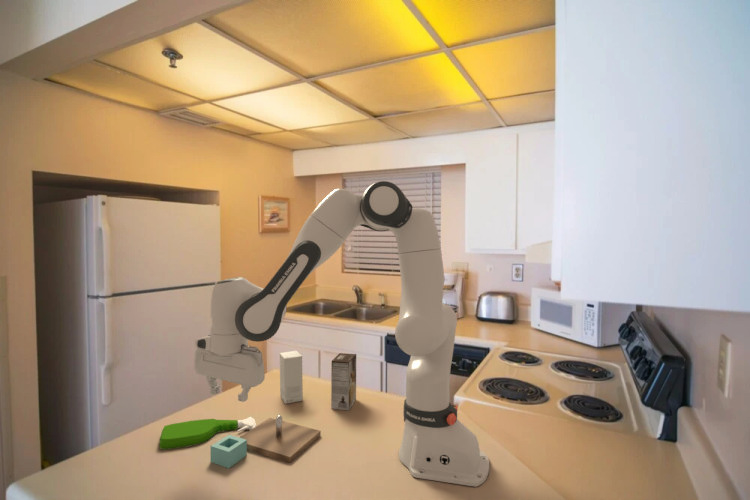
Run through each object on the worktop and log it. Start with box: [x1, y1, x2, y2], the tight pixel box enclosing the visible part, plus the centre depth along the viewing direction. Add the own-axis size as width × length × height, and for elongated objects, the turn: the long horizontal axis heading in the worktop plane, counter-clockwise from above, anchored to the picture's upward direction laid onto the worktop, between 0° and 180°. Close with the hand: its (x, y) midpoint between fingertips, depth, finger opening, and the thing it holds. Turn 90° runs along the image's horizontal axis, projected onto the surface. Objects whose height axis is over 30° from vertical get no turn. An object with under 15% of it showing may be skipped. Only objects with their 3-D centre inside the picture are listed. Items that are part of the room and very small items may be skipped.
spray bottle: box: [159, 416, 257, 450], centre depth 105 cm, size 3×11×24 cm
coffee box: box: [330, 352, 357, 411], centre depth 124 cm, size 9×6×16 cm
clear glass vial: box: [275, 415, 283, 437], centre depth 101 cm, size 2×2×6 cm
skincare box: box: [279, 350, 304, 405], centre depth 129 cm, size 8×7×16 cm
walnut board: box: [238, 417, 322, 464], centre depth 101 cm, size 18×14×2 cm
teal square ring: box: [210, 434, 248, 469], centre depth 92 cm, size 6×6×4 cm
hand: (228, 396), depth 92 cm, fingers open, 8 cm apart
